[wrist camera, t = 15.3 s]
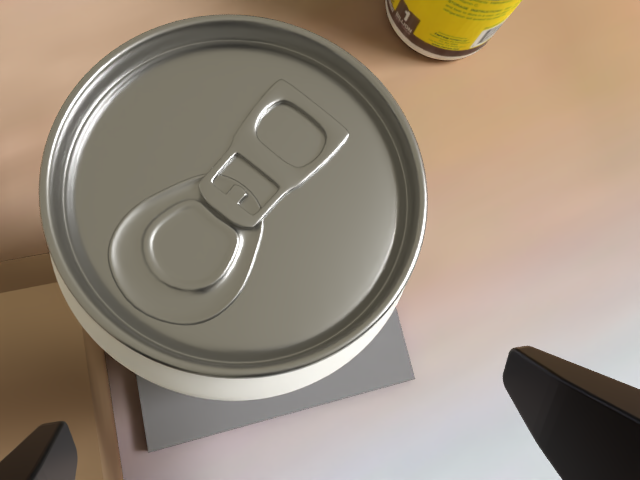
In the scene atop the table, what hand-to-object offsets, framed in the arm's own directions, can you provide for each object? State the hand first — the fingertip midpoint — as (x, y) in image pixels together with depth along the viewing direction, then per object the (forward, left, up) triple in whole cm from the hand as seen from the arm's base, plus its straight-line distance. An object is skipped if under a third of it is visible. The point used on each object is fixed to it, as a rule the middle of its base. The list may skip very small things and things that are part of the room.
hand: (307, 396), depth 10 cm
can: (+4, +1, -9) cm, 9 cm away
